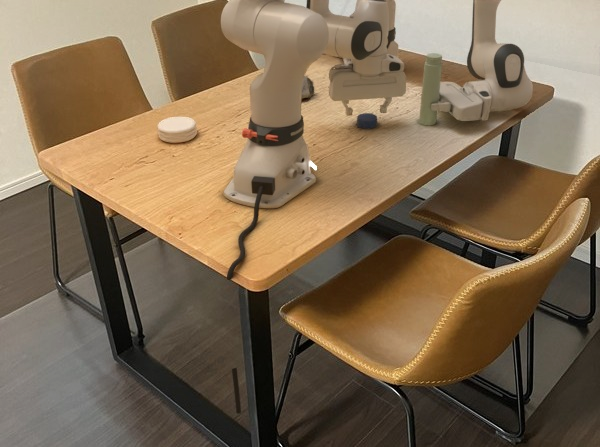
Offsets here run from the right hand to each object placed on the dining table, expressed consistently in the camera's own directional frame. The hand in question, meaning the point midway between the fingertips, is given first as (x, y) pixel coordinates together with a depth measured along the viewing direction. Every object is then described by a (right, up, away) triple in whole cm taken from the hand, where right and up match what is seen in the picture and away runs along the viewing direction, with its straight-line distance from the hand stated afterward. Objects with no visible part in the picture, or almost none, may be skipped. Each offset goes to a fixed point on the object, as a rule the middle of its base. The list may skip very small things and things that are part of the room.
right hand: (426, 102), depth 166 cm
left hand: (-16, -3, 0) cm, 16 cm away
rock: (-37, +7, +22) cm, 44 cm away
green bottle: (+1, -5, +3) cm, 6 cm away
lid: (-16, -4, +1) cm, 16 cm away
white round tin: (-66, -9, -2) cm, 67 cm away
